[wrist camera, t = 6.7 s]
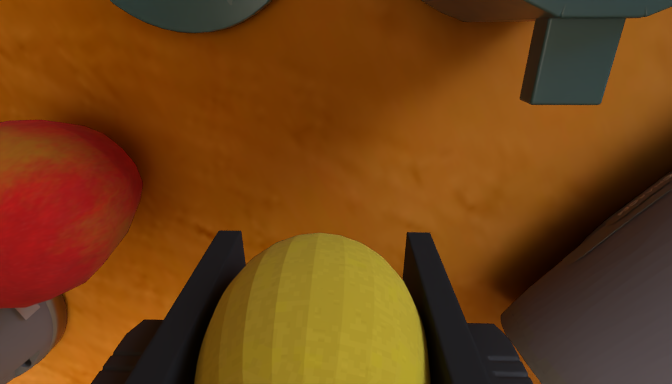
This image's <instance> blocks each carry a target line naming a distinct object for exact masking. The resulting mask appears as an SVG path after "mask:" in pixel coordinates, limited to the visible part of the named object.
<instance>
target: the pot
mask: <svg viewBox="0 0 672 384" xmlns="http://www.w3.org/2000/svg"><path fill="white" fill-rule="evenodd" d="M422 1H423V2H424V3H425V4H427V5H429V6H431V7H433V8H434V9H436V10H438V11H440V12H441V13H444V14H446V15H449V16H451V17H454V18H457V19H459V20H461V21H465V22H519V21H535V25H534V30H533V35H532V40H531V45H530V50H529V55H528V60H527V64H526V69H525V74H524V79H523V84H522V89H521V94H520V100H522V101H524V102H527V103H529V104H531V105H598V104H600V103H601V101H602V98H603V94H604V91H605V87H606V84H607V81H608V77H609V74H610V70H611V67H612V64H613V60H614V57H615V53H616V50H617V47H618V43H619V40H620V36H621V33H622V30H623V26H624V23H625V20H626V18H641V17H647V16H649V15H652V14H654V13H657V12H659V11H662V10H664V9H667V8H670V7H672V0H422Z"/></svg>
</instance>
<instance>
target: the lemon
mask: <svg viewBox="0 0 672 384" xmlns="http://www.w3.org/2000/svg"><path fill="white" fill-rule="evenodd" d="M194 384H431V378H430V367H429V358H428V349H427V341H426V336H425V330H424V327H423V323H422V320H421V317H420V315H419V312H418V310H417V308H416V306H415V303H414V301H413V299H412V297H411V295H410V293H409V291H408V289H407V287H406V285H405V284H404V282H403V280H402V279H401V277H400V276H399V275H398V274H397V272H396V271H395V270H394V269H393V268H392V267H391V266H390V265H389V264H388V263H387V262H386V260H385V259H384V258H383V257H381V256H380V255H379V254H378V253H376V252H375V251H373V250H371V249H370V248H368V247H367V246H365V245H364V244H362V243H360V242H358V241H355V240H352V239H349V238H346V237H344V236H341V235H334V234H325V233H314V234H303V235H297V236H294V237H291V238H288V239H285V240H282V241H279V242H277V243H275V244H274V245H272V246H271V247H269V248H267V249H266V250H264V251H263V252H261V253H260V254H258V255H257V256H255V257H254V258H253V259H252V260H251V261H250V262H248V264H247V265H246V266H245V267H244V268H243V269H242V270H241V271H240V273H239V274H238V275H237V276H236V277H235V278H234V279H233V281H232V282H231V283H230V284H229V286H228V287H227V289H226V290H225V292H224V293H223V295H222V297H221V299H220V301H219V303H218V305H217V307H216V309H215V311H214V314H213V316H212V318H211V320H210V323H209V325H208V328H207V330H206V333H205V335H204V338H203V342H202V345H201V348H200V352H199V357H198V361H197V366H196V373H195V380H194Z"/></svg>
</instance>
